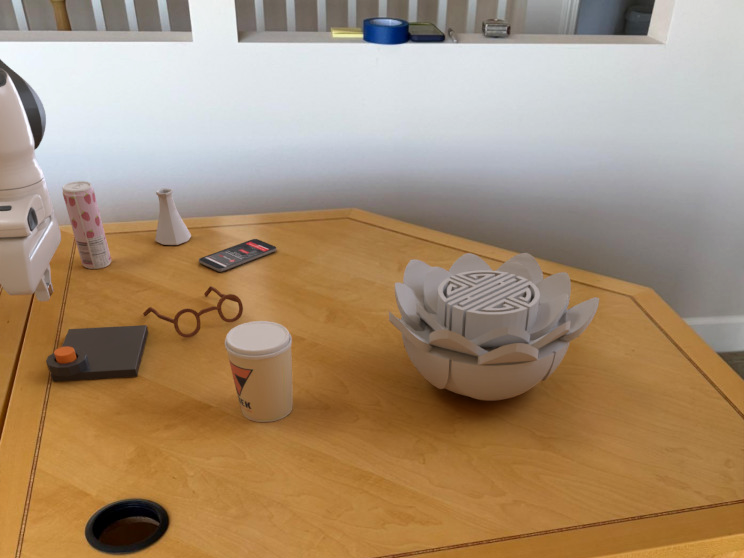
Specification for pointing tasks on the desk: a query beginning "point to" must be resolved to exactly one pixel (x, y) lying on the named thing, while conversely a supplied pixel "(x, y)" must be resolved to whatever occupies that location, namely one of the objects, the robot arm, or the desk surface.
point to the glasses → (201, 312)
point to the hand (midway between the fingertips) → (46, 297)
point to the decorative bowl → (487, 324)
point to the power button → (65, 355)
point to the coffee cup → (261, 369)
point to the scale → (101, 353)
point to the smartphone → (237, 255)
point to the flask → (170, 221)
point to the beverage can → (86, 224)
